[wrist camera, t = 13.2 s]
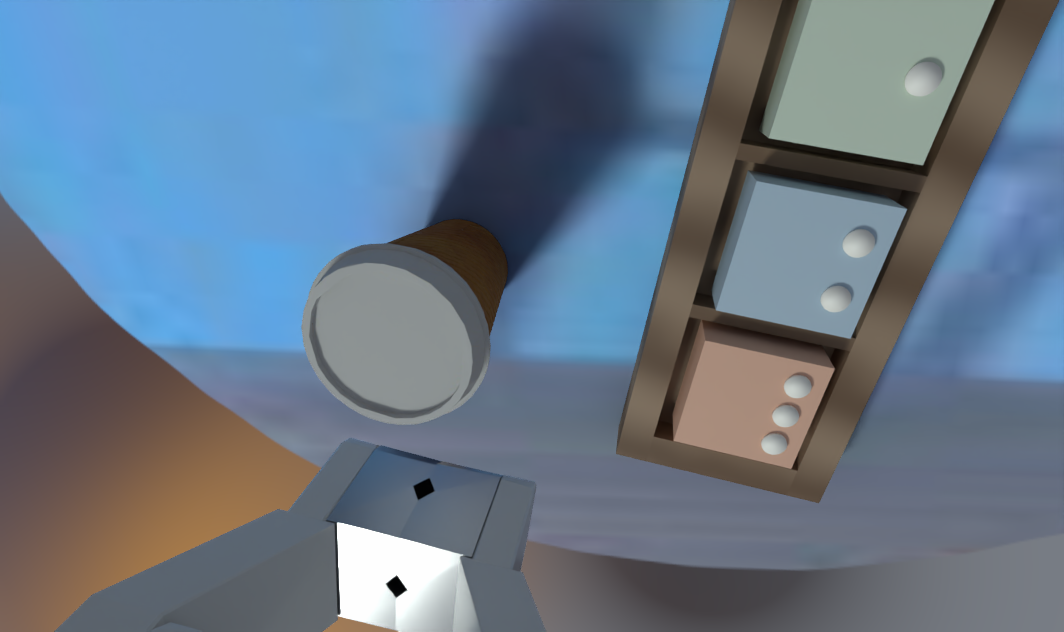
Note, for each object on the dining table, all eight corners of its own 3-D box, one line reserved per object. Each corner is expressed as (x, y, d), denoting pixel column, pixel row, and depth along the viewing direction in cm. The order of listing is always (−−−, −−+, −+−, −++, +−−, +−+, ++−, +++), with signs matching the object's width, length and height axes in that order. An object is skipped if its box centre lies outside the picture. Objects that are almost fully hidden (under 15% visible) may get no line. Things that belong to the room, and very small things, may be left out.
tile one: (805, -23, 27) (823, -32, 25) (963, -1, 27) (999, -7, 24) (758, 130, 30) (769, 138, 28) (898, 155, 30) (924, 166, 27)
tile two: (748, 170, 31) (757, 182, 28) (885, 195, 30) (908, 210, 27) (711, 289, 34) (716, 311, 31) (834, 315, 33) (851, 340, 30)
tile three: (701, 318, 35) (705, 342, 32) (820, 343, 34) (835, 370, 32) (672, 413, 38) (673, 442, 35) (781, 438, 37) (791, 471, 35)
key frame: (756, -102, 28) (767, -118, 25) (1050, -63, 26) (1095, -76, 24) (618, 427, 41) (616, 453, 38) (807, 472, 40) (819, 503, 37)
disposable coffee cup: (521, 186, 35) (462, 244, 25) (541, 328, 39) (497, 433, 28) (378, 200, 38) (266, 259, 27) (409, 333, 41) (322, 433, 31)
